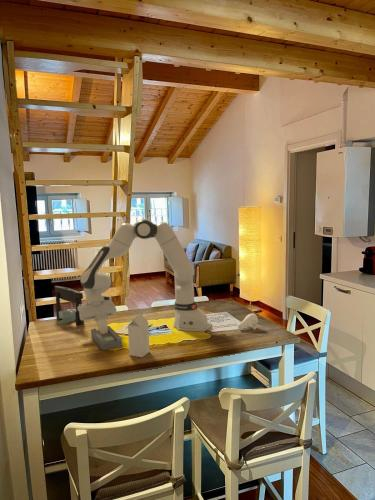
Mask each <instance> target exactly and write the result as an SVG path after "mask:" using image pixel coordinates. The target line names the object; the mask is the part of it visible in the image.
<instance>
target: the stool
mask: <svg viewBox="0 0 375 500" xmlns="http://www.w3.org/2000/svg"><path fill="white" fill-rule="evenodd" d="M54 292H55V304H56V306H55V313H56V315H55V316H56V319H58V321H57V322H58V325H62V324H63V323H64V324H65V323H66V324H67V323H72V322H74V321H75V325H76V326H81V325H84V324H85V320H83V321H82V320H80V316H79V311H78V309H77V307H78V306H79V305H81V304H83V298H84V294H83V293H84V292H81V291H79V290H76V289H73V288H70V287H65V286H59V285H54ZM61 300H64V301H67V302H70V303H73V304H75V309H74V308H73V309H70V308H68V309H67V308H66V309H64V310H62V305H61Z"/></svg>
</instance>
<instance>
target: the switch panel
mask: <svg viewBox="0 0 375 500" xmlns="http://www.w3.org/2000/svg"><path fill="white" fill-rule="evenodd" d="M107 326H108V333H105V334H100V333H99V332H98V330H97V329H96V328H91V329H90V335H91V336H90V337H91V338H92V340H93V341H94V342H95V343H96V344H97V345H98V347H99V348H100V349H101V350H102V351H107V350H108V351H109V350H111V349H116V347H117V348H121V347H123V339H122V338H123V337H122V336H120V335H119V334H118V333H117V332H116V331H115V330H114V329H113V328H112V327H111V326H109V325H107ZM120 346H121V347H120Z"/></svg>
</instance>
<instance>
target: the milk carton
mask: <svg viewBox="0 0 375 500" xmlns="http://www.w3.org/2000/svg"><path fill="white" fill-rule="evenodd" d="M149 331H150V330H149V321H148V320H147V319H146V318H145V317H144V316H143V313H140V314H138V315H136V316H135V317H133V318H132V319H131V322H130V323H129V324H128V325H127V334H128V355H129V356H133V357H138V358H143V357H144V356H146V355H148V354H149V353H150V332H149Z"/></svg>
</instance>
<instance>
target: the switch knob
mask: <svg viewBox="0 0 375 500" xmlns="http://www.w3.org/2000/svg"><path fill="white" fill-rule="evenodd" d="M97 319H98V322H97V327H98V328H97V329H98V332H99V333H100V334H105V333H108V326H109V325H108V319H109V316H107V315H106V314H103V315H97Z"/></svg>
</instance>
